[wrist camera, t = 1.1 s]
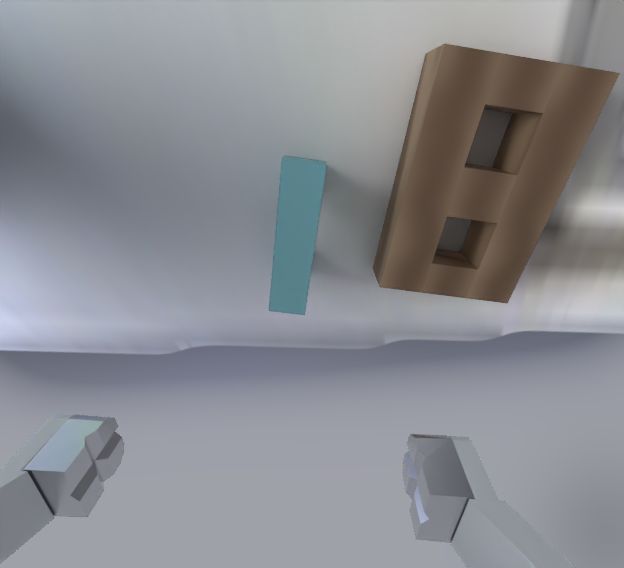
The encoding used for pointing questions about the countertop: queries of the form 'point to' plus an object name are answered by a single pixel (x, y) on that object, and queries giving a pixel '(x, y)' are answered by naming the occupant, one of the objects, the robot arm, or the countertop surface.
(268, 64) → the countertop surface
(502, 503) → the robot arm
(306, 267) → the teal long block
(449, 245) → the countertop surface
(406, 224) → the wooden board with holes
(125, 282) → the countertop surface
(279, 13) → the countertop surface
